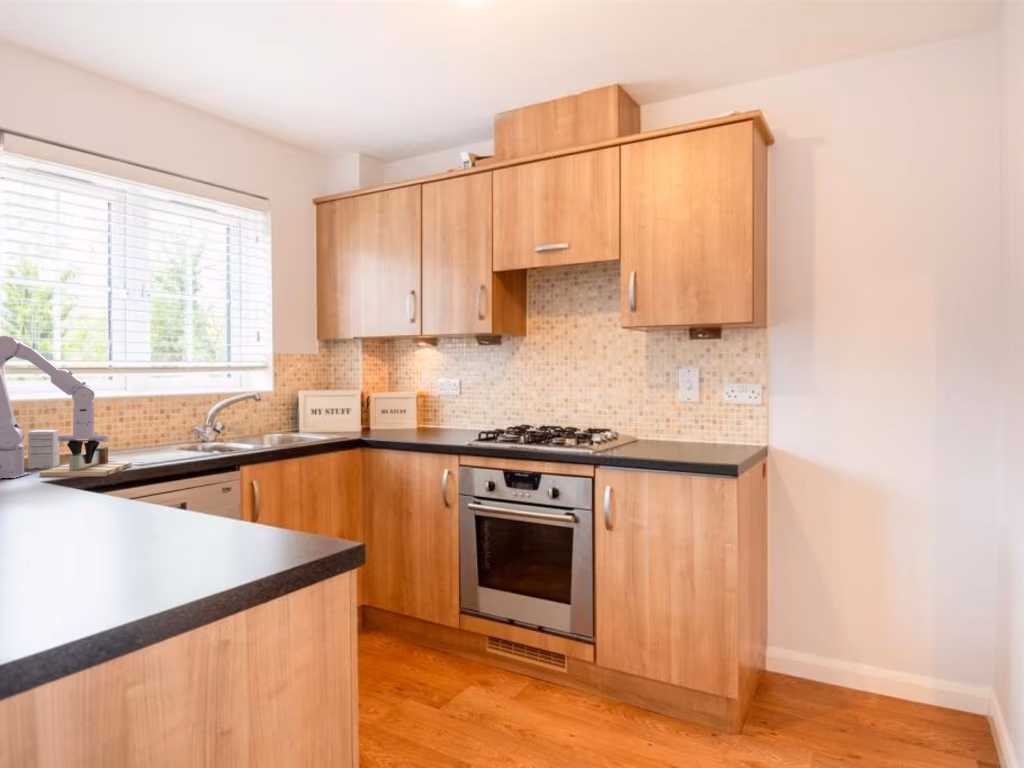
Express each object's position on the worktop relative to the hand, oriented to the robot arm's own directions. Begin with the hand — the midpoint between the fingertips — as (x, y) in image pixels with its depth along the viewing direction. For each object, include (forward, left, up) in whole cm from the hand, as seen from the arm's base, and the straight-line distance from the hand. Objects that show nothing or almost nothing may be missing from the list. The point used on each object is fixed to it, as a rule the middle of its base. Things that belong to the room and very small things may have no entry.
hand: (83, 463), depth 207 cm
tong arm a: (+1, -1, -1) cm, 2 cm away
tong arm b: (+1, +1, -1) cm, 2 cm away
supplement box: (+12, +18, -3) cm, 22 cm away
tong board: (+2, -1, -3) cm, 4 cm away
